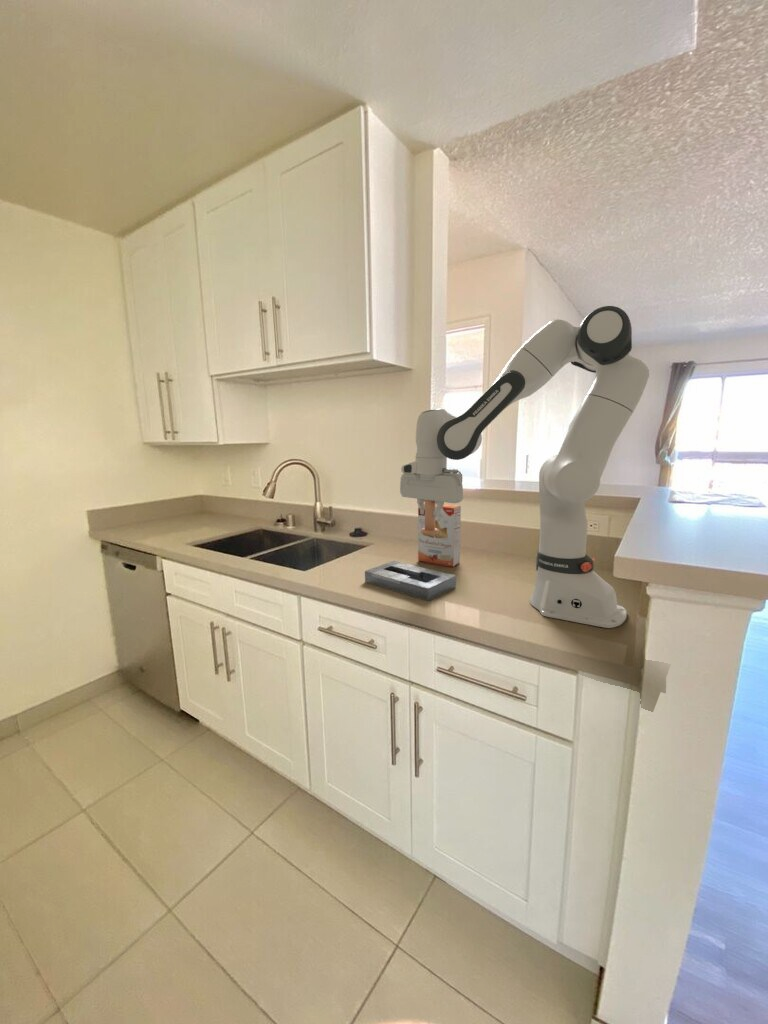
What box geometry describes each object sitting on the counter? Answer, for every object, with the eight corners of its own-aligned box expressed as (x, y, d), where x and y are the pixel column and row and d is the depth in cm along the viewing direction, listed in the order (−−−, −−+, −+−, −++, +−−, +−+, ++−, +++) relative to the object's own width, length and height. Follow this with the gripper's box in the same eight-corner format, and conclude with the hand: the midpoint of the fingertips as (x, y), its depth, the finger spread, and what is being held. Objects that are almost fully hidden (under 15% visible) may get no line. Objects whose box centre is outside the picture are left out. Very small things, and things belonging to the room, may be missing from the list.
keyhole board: (455, 587, 123) (455, 575, 123) (428, 601, 113) (428, 588, 112) (394, 571, 139) (394, 560, 138) (365, 582, 129) (364, 571, 128)
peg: (441, 532, 121) (442, 495, 119) (431, 535, 118) (432, 497, 116) (427, 530, 125) (428, 493, 123) (417, 532, 121) (418, 495, 119)
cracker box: (417, 561, 149) (417, 504, 146) (425, 557, 154) (425, 501, 150) (452, 567, 141) (453, 507, 138) (460, 563, 146) (461, 504, 143)
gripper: (468, 468, 113) (466, 518, 116) (410, 465, 127) (410, 509, 129) (455, 470, 109) (454, 521, 111) (397, 466, 122) (396, 512, 125)
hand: (430, 515), depth 120 cm, fingers closed on peg, 3 cm apart
